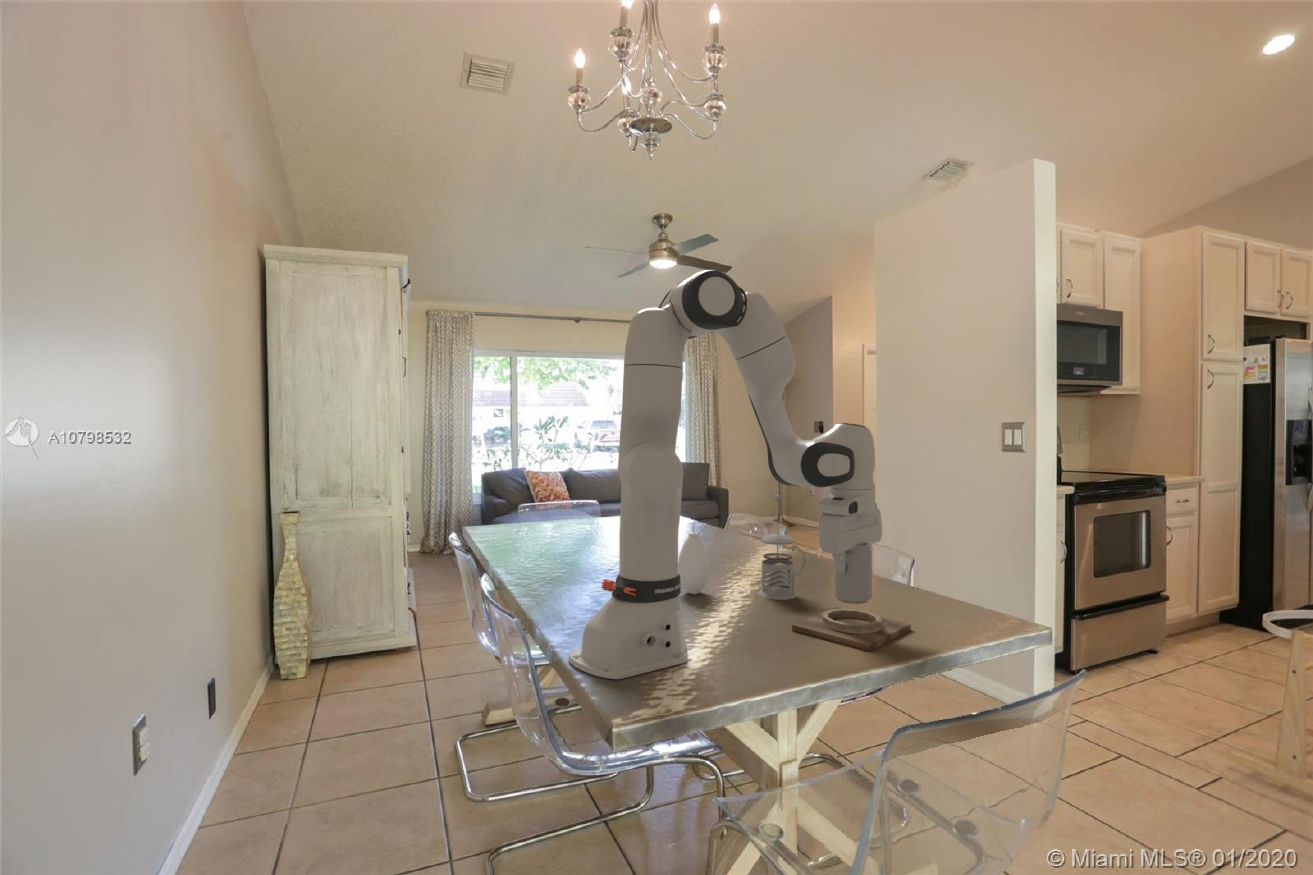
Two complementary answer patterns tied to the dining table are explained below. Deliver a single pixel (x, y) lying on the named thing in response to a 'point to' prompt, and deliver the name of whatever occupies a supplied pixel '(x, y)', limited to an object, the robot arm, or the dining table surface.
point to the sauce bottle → (693, 564)
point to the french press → (778, 568)
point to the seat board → (852, 637)
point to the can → (855, 577)
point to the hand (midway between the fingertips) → (852, 568)
